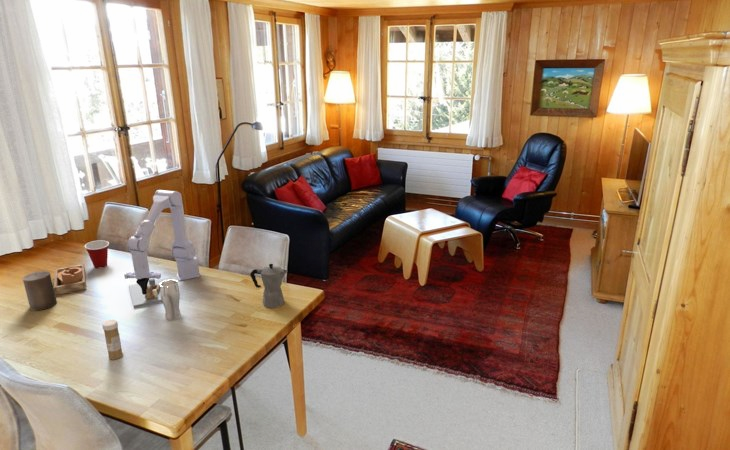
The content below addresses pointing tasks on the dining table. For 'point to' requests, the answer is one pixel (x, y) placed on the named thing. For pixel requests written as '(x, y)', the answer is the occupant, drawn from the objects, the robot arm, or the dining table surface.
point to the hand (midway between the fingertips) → (145, 293)
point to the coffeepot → (271, 285)
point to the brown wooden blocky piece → (151, 291)
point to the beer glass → (170, 299)
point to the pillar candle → (39, 290)
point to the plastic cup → (98, 252)
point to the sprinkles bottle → (112, 339)
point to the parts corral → (71, 286)
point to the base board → (140, 298)
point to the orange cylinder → (70, 276)
